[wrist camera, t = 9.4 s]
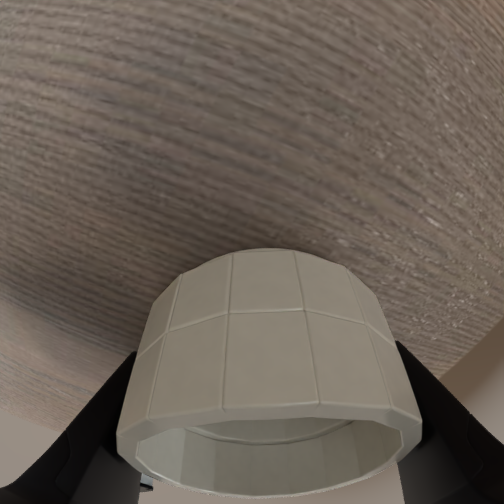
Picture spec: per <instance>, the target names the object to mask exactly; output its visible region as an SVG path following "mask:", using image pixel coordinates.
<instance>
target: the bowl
mask: <svg viewBox="0 0 504 504" xmlns="http://www.w3.org/2000/svg"><path fill="white" fill-rule="evenodd" d="M421 440H422V418H421V415H420V411H419V408H418V405H417V402H416V399H415V396H414V393H413V390H412V387H411V384H410V381H409V378H408V376H407V373H406V370H405V367H404V364H403V362H402V359H401V356H400V354H399V351H398V349H397V346H396V343H395V341H394V338H393V336H392V333H391V330H390V328H389V325H388V323H387V320H386V318H385V315H384V313H383V311H382V308H381V306H380V303H379V301H378V299H377V297H376V296H375V294H374V293H373V292H372V291H371V290H370V289H369V288H368V287H367V286H366V285H365V284H364V283H363V282H362V281H361V280H359V279H358V278H357V277H356V276H355V275H354V274H353V273H352V272H351V271H350V270H348V269H347V268H345V266H343V265H340V264H337V263H334V262H331V261H328V260H325V259H323V258H320V257H318V256H315V255H312V254H309V253H305V252H301V251H297V250H290V249H282V248H257V249H246V250H241V251H237V252H232V253H228V254H225V255H222V256H219V257H216V258H214V259H212V260H209V261H207V262H205V263H203V264H201V265H200V266H198V267H196V268H194V269H192V270H189V271H187V272H185V273H184V274H180V275H179V276H178V277H177V278H176V279H175V280H174V281H173V282H172V283H171V284H170V285H169V286H168V287H167V288H166V290H165V291H164V292H163V293H162V294H161V295H160V296H159V297H158V298H157V299H156V300H155V301H154V302H153V304H152V307H151V310H150V313H149V316H148V319H147V323H146V326H145V329H144V332H143V335H142V339H141V342H140V345H139V349H138V352H137V356H136V359H135V363H134V366H133V370H132V373H131V377H130V380H129V384H128V388H127V391H126V395H125V399H124V403H123V407H122V411H121V415H120V419H119V423H118V427H117V431H116V445H117V453H118V454H119V455H120V456H121V457H122V458H123V459H124V460H126V461H127V462H128V463H129V464H130V465H131V466H132V467H134V468H135V469H136V470H137V471H139V472H141V473H143V474H145V475H148V476H150V477H152V478H154V479H157V480H159V481H161V482H163V483H166V484H168V485H171V486H174V487H178V488H182V489H186V490H190V491H194V492H199V493H203V494H209V495H216V496H225V497H236V498H280V497H291V496H293V497H294V496H300V495H306V494H312V493H317V492H323V491H328V490H332V489H336V488H340V487H343V486H346V485H349V484H352V483H355V482H358V481H361V480H364V479H366V478H369V477H371V476H374V475H375V474H377V473H379V472H381V471H383V470H385V469H387V468H389V467H390V466H392V465H394V464H396V463H397V462H399V461H401V460H402V459H403V458H404V457H405V456H406V455H407V454H408V453H409V452H410V451H411V450H412V449H413V448H414V447H415V446H416V445H417V444H418V443H419V442H420V441H421Z"/></svg>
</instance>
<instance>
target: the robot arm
mask: <svg viewBox="0 0 504 504" xmlns="http://www.w3.org/2000/svg"><path fill="white" fill-rule="evenodd" d="M395 343H396V346H397V349H398V351H399V354H400V356H401V359H402V362H403V364H404V367H405V370H406V373H407V376H408V378H409V381H410V384H411V387H412V390H413V393H414V396H415V399H416V402H417V405H418V408H419V411H420V415H421V418H422V440H421V441H420V442H419V443H418V444H417V445H416V446H415V447H414V448H413V449H412V450H411V451H410V452H409V453H408V454H407V455H406V456H405V457H404V458H403V459H402V460H401V461H399V462H397V465H398V469H399V474H400V480H401V485H402V490H403V496H404V501H405V504H504V445H503V444H502V443H501V442H500V441H499V440H497V439H496V438H495V437H494V436H493V435H492V434H491V433H490V432H488V431H487V429H486V428H485V427H484V426H482V424H480V423H479V422H478V420H476V418H475V417H474V416H473V415H472V414H470V413H469V411H468V410H467V409H466V408H465V407H464V406H463V405H462V404H461V403H460V402H459V401H458V400H457V399H456V398H455V397H454V396H453V395H452V394H451V393H450V392H449V391H448V390H447V389H446V388H445V386H444V385H442V383H441V382H439V380H438V379H437V378H436V377H435V376H434V375H433V374H432V373H431V372H430V371H429V370H428V369H427V368H426V367H425V366H424V365H423V364H422V363H421V362H420V361H419V360H418V359H417V358H416V357H415V356H414V355H413V354H412V353H411V352H409V351H408V350H407V349H406V348H405V347H404V346H403V345H402V344H401V343H400V342H399V341H396V340H395ZM137 352H138V351H133V352H132V353H131V354H130V355H129V356H128V357H127V358H126V360H125V361H124V362H123V363H122V364H121V365H120V366H119V368H118V369H117V370H116V371H115V372H114V373H113V374H112V376H111V377H110V378H109V379H108V380H107V381H106V382H105V384H104V385H103V386H102V387H101V388H100V389H99V391H98V392H97V393H96V394H95V395H94V396H93V398H92V399H91V400H90V401H89V402H88V403H87V405H86V406H85V407H84V408H83V409H82V410H81V412H80V413H79V414H78V415H77V416H76V418H75V419H74V420H73V421H72V422H71V423H70V425H69V426H68V427H67V428H66V430H65V431H64V432H63V433H62V434H61V435H60V436H59V438H58V439H57V440H56V441H55V442H54V443H53V444H52V445H51V447H50V448H49V449H48V450H47V451H46V452H45V453H44V454H43V455H42V456H41V457H40V458H39V459H38V460H37V461H36V462H35V463H34V464H33V465H32V466H31V467H30V468H28V469H27V470H26V471H25V472H24V473H23V474H22V475H21V476H20V477H19V478H18V479H17V480H16V481H14V482H13V483H11V484H9V485H7V486H5V487H2V488H0V504H138V500H139V493H140V492H147V491H153V486H150V485H147V484H143V483H140V480H141V474H142V473H141V472H139V471H137V470H136V469H135V468H134V467H132V466H131V465H130V464H129V463H128V462H127V461H126V460H124V459H123V458H122V457H121V456H120V455H119V454H118V453H117V445H116V431H117V427H118V423H119V419H120V415H121V411H122V407H123V403H124V399H125V395H126V391H127V388H128V384H129V380H130V377H131V373H132V370H133V366H134V363H135V359H136V356H137Z"/></svg>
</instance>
